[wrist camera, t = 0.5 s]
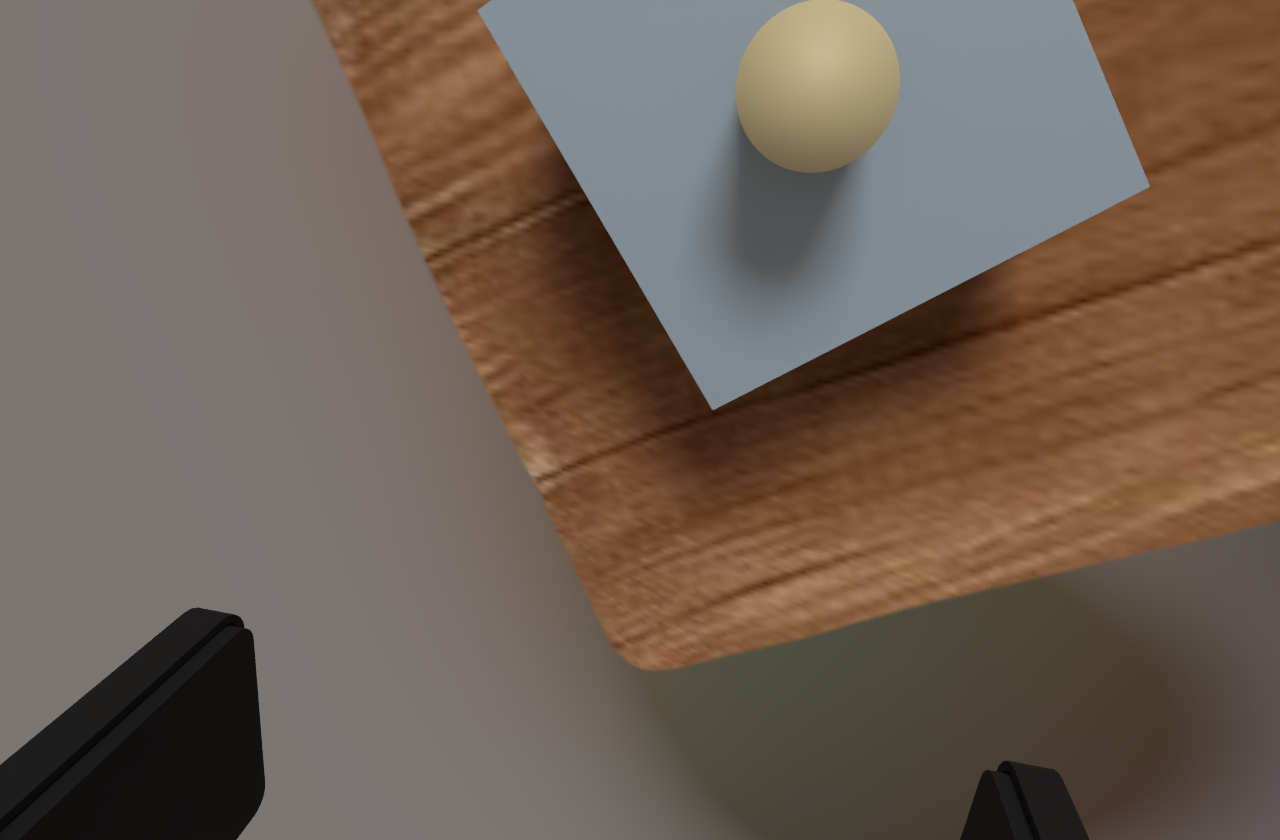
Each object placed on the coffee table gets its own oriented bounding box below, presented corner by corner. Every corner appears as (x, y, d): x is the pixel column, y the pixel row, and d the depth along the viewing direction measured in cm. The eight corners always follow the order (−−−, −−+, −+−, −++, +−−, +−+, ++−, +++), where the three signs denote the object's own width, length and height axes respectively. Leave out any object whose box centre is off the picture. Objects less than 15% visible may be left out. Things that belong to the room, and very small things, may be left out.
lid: (926, -309, 22) (984, -466, 16) (1133, 184, 25) (1242, 200, 19) (489, 15, 26) (412, -17, 21) (714, 399, 30) (702, 465, 24)
